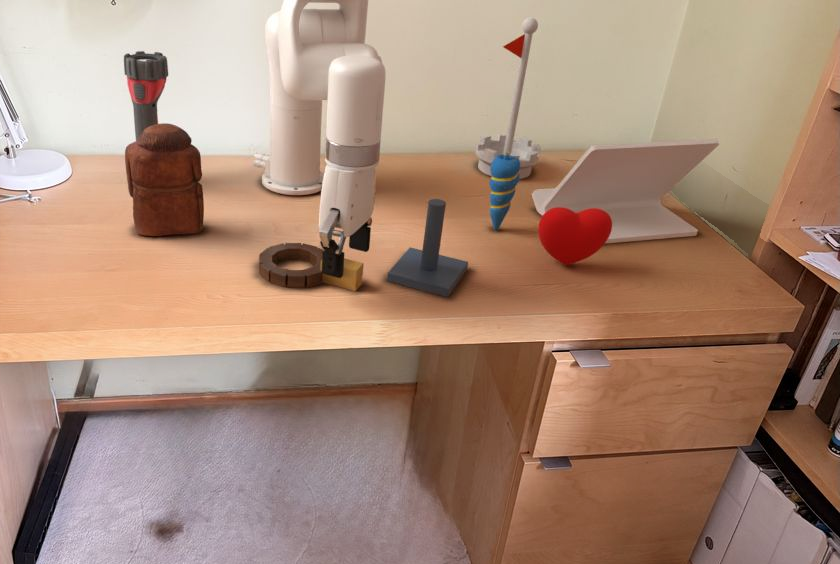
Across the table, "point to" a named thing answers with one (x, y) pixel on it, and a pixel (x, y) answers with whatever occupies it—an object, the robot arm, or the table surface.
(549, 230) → the heart
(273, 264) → the walnut ring
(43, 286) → the table surface
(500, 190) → the ornament
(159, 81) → the flashlight
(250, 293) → the table surface
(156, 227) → the wooden figurine
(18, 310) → the table surface
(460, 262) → the peg rack
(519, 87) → the flag stand
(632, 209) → the tablet stand
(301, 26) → the robot arm
